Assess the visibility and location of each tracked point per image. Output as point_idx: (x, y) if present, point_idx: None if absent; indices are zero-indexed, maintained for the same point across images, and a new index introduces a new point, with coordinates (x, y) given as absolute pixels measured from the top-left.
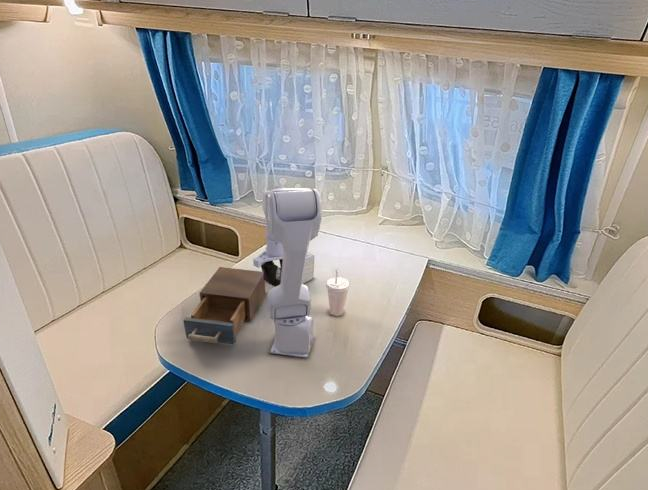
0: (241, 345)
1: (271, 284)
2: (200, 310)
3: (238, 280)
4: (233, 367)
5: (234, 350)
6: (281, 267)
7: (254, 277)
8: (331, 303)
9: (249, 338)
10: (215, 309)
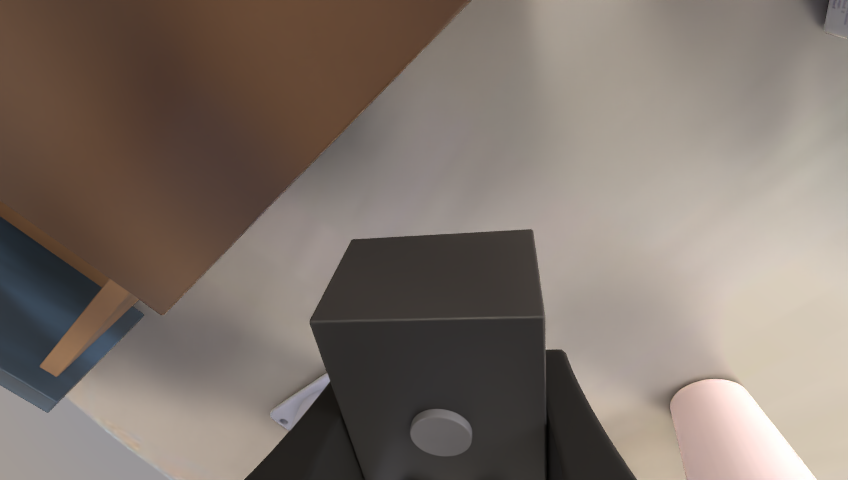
0: (178, 319)
1: None
2: None
3: None
4: (130, 384)
5: (145, 325)
6: (560, 468)
7: (330, 9)
8: (687, 477)
9: (222, 304)
10: None
